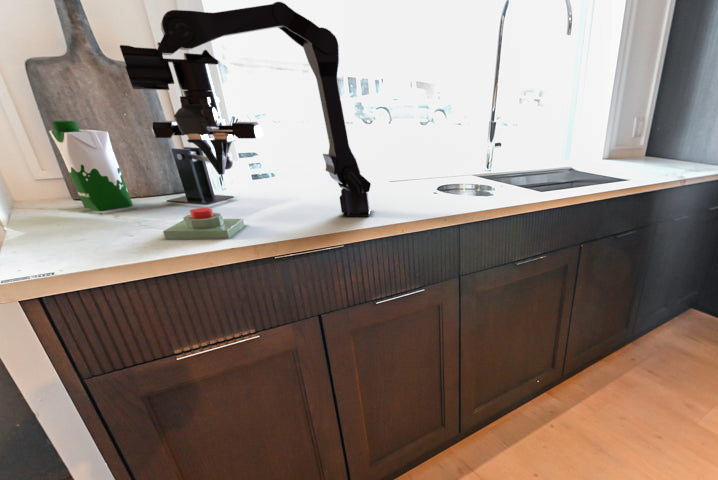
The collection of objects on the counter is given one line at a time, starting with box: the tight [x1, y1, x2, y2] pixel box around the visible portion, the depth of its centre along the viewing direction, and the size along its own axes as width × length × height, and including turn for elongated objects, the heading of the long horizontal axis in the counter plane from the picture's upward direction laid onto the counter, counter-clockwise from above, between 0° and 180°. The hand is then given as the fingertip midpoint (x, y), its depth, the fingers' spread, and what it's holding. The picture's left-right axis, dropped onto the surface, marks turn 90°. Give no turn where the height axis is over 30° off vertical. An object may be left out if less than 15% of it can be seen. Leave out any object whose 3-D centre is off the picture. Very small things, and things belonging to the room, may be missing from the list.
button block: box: [162, 212, 246, 240], centre depth 92 cm, size 12×10×4 cm
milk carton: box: [48, 120, 134, 215], centre depth 102 cm, size 9×9×20 cm
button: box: [189, 207, 214, 219], centre depth 91 cm, size 4×4×2 cm
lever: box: [190, 150, 234, 171], centre depth 111 cm, size 13×4×4 cm, turn 82°
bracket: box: [166, 146, 235, 206], centre depth 114 cm, size 12×10×14 cm
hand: (221, 174), depth 91 cm, fingers closed
